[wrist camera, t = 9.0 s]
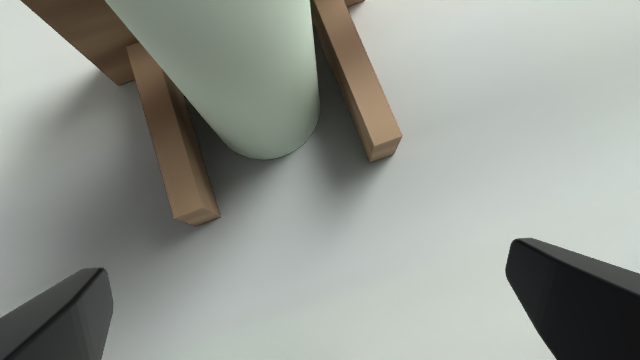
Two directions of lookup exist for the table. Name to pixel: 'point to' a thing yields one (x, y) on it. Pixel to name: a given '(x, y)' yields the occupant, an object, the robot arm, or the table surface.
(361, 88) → the holder
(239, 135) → the pale green tapered cylinder
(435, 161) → the table surface
